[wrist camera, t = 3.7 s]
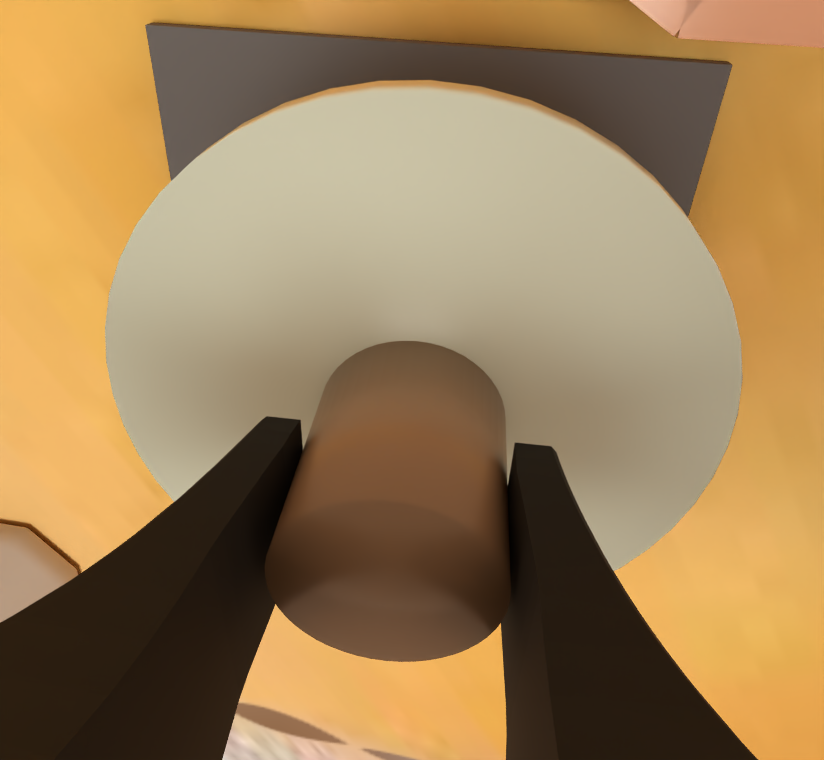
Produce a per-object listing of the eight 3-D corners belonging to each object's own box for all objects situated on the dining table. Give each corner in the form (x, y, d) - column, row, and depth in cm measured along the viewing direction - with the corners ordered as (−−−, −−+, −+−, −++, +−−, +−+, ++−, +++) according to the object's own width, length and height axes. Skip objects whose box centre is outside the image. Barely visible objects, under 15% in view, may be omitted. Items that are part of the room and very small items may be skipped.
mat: (728, 61, 16) (732, 64, 15) (603, 491, 24) (605, 499, 24) (152, 22, 17) (145, 25, 17) (220, 447, 25) (216, 454, 25)
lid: (834, 101, 10) (1057, 226, 6) (646, 608, 17) (693, 820, 13) (52, 58, 11) (-203, 145, 7) (178, 562, 18) (88, 749, 14)
